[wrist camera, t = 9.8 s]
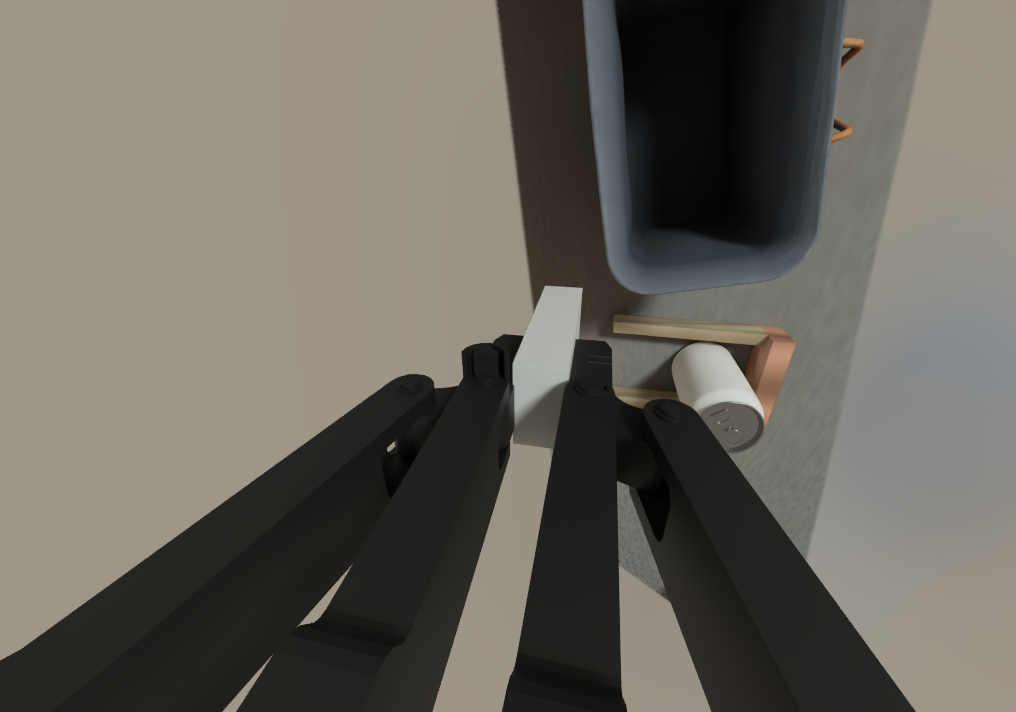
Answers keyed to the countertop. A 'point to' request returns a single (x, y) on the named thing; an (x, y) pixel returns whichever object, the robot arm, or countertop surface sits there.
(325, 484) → the robot arm
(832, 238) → the countertop surface
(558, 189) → the countertop surface
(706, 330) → the guide lane
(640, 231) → the storage bin
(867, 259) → the countertop surface
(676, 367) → the can
